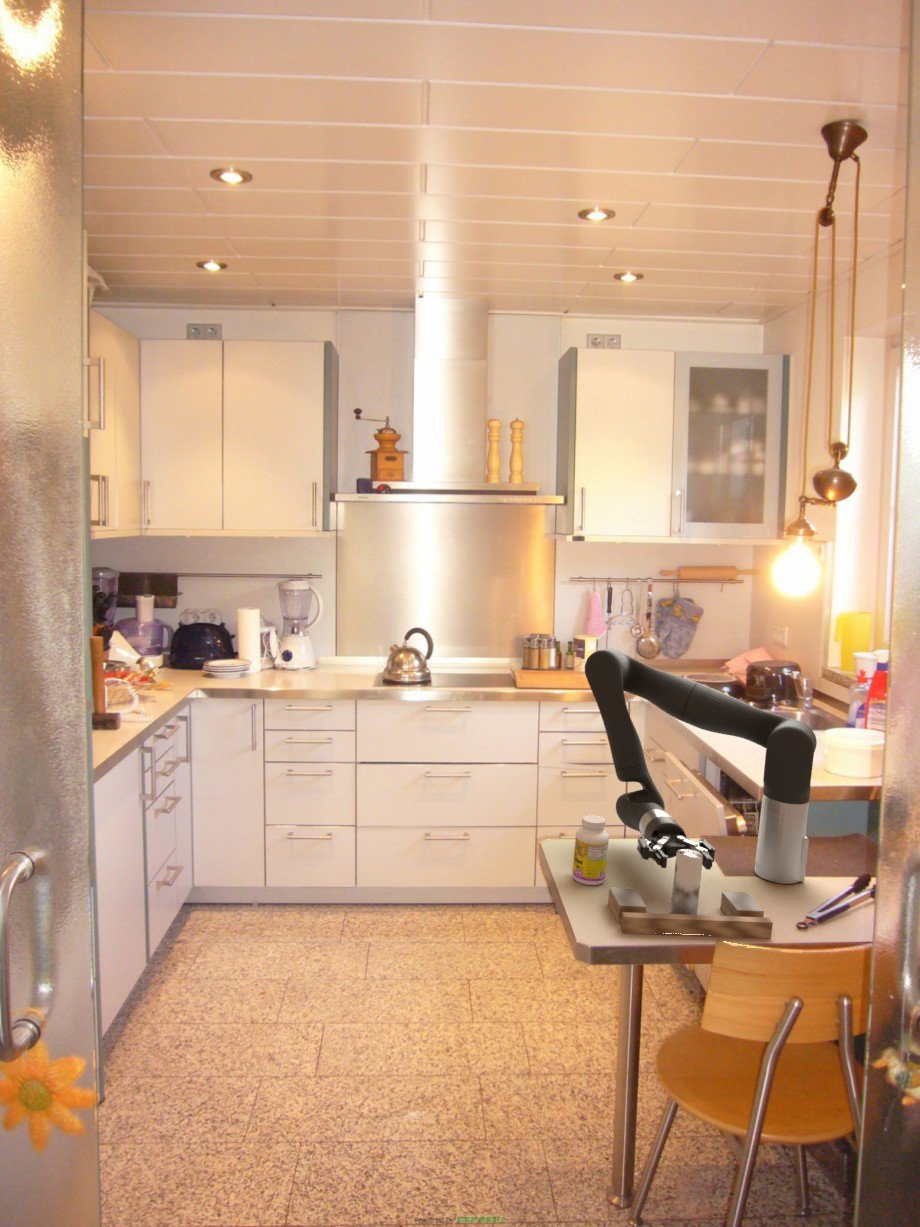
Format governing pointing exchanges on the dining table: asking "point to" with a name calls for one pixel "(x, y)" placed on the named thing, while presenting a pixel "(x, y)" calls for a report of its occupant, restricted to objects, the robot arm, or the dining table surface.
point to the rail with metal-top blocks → (691, 917)
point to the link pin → (686, 882)
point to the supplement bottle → (591, 851)
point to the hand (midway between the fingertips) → (687, 864)
